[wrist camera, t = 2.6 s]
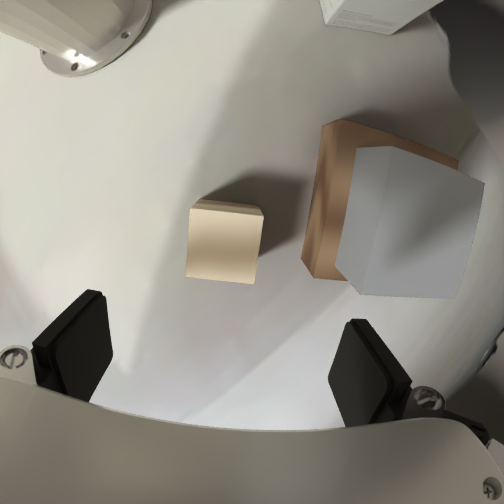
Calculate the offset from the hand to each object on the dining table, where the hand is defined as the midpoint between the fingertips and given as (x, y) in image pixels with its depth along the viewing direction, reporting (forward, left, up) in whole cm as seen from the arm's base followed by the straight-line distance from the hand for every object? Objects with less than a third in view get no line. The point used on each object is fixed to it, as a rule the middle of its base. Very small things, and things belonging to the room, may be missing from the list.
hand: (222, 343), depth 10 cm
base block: (-5, +13, -16) cm, 21 cm away
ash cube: (-1, 0, -15) cm, 15 cm away
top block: (-4, +13, -11) cm, 17 cm away
